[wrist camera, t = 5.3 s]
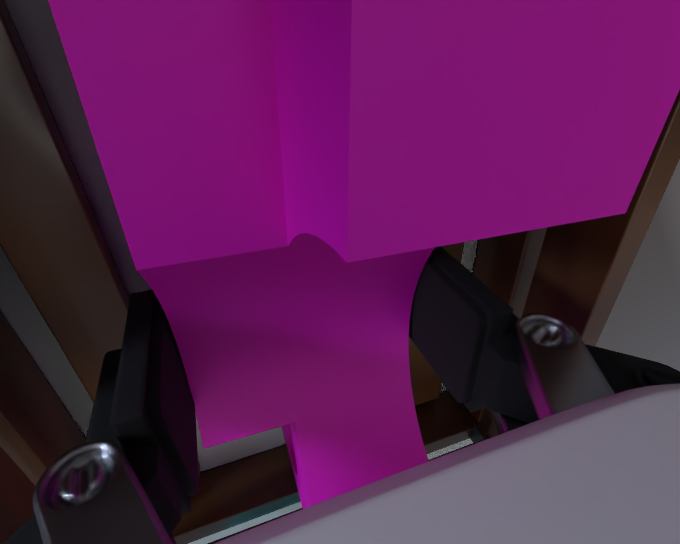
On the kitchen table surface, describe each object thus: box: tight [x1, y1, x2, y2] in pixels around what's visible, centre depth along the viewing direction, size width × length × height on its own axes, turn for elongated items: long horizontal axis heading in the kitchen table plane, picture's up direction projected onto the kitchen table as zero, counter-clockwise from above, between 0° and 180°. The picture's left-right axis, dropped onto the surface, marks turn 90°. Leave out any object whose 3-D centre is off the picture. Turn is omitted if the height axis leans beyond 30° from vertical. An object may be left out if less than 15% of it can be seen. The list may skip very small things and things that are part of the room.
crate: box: [0, 0, 680, 544], centre depth 11 cm, size 20×17×5 cm
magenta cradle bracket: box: [48, 0, 680, 509], centre depth 10 cm, size 15×6×8 cm, turn 179°
